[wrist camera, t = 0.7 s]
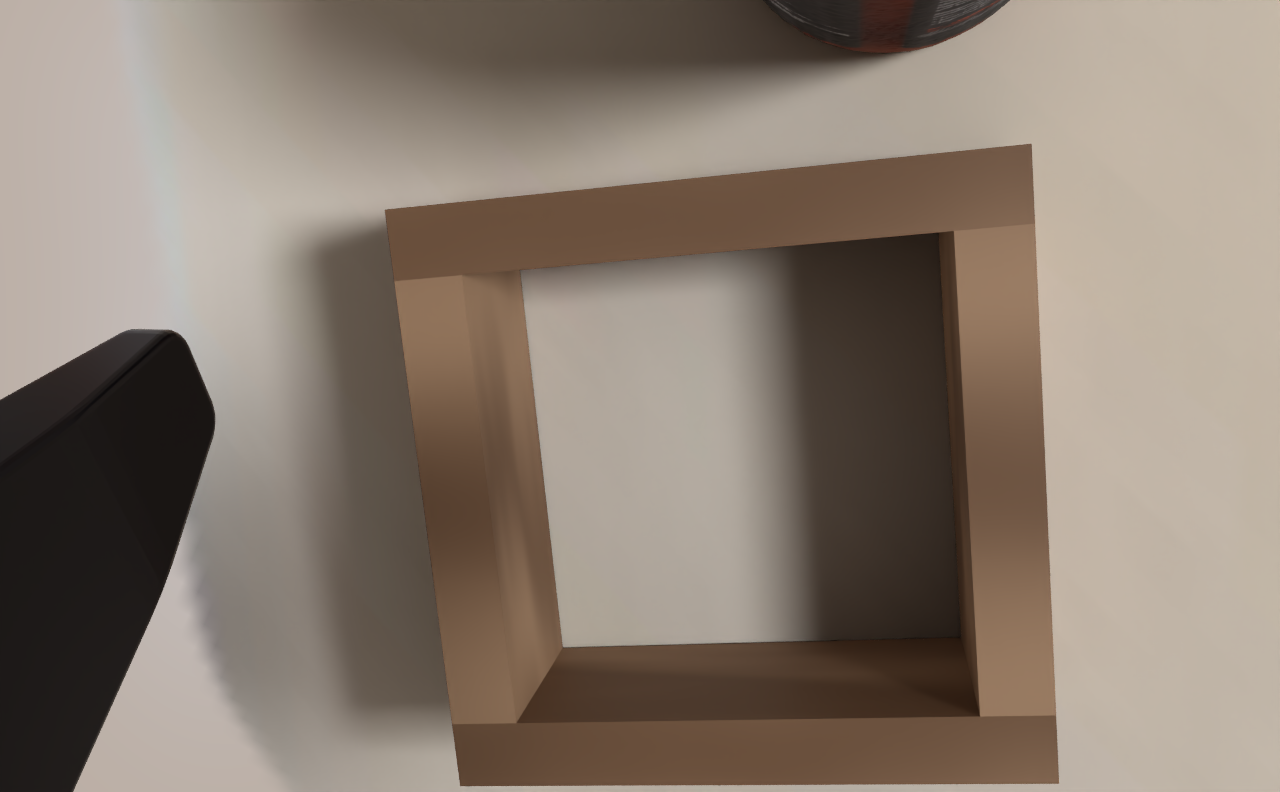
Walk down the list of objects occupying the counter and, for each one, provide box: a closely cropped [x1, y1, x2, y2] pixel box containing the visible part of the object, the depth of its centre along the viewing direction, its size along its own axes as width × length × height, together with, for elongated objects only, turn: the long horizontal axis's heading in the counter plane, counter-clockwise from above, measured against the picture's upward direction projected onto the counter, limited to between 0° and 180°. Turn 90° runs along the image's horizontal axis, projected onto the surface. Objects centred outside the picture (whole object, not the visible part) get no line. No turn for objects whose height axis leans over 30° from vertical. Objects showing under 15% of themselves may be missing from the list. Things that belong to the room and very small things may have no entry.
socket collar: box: [385, 144, 1059, 786], centre depth 21 cm, size 10×10×4 cm
